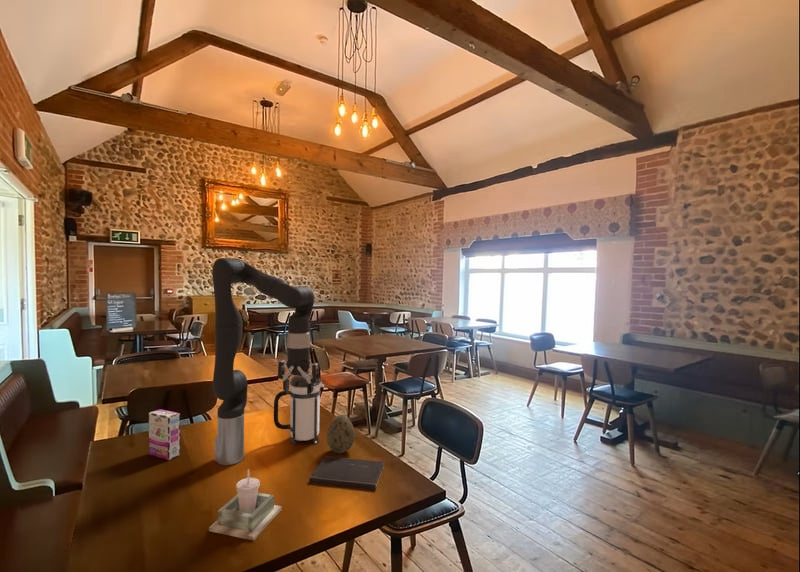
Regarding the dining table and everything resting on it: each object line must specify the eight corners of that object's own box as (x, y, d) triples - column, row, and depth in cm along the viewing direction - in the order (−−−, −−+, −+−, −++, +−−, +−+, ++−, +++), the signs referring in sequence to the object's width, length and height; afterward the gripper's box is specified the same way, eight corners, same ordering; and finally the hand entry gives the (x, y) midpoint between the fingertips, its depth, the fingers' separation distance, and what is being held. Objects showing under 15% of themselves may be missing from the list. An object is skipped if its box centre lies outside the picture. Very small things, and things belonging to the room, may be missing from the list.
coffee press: (304, 427, 178) (305, 362, 177) (329, 437, 169) (330, 368, 167) (272, 441, 164) (272, 370, 163) (297, 452, 155) (298, 377, 153)
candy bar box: (180, 455, 151) (180, 412, 150) (168, 461, 146) (168, 417, 145) (160, 449, 155) (160, 408, 154) (148, 454, 150) (147, 412, 149)
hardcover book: (325, 461, 149) (325, 455, 149) (384, 467, 146) (385, 461, 146) (308, 484, 133) (309, 478, 133) (375, 492, 130) (375, 485, 130)
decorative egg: (346, 461, 149) (346, 422, 148) (321, 455, 153) (321, 417, 152) (358, 448, 159) (359, 412, 158) (335, 444, 163) (335, 408, 162)
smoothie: (236, 525, 109) (237, 476, 109) (234, 512, 115) (235, 465, 114) (260, 519, 112) (261, 471, 112) (257, 507, 118) (258, 461, 117)
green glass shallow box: (208, 531, 108) (208, 513, 108) (240, 501, 122) (240, 486, 122) (253, 540, 105) (254, 522, 105) (281, 509, 119) (281, 493, 119)
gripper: (273, 345, 132) (273, 393, 133) (312, 349, 129) (312, 398, 129) (285, 341, 139) (284, 387, 140) (322, 344, 136) (322, 391, 137)
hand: (298, 392), depth 135 cm, fingers open, 8 cm apart
